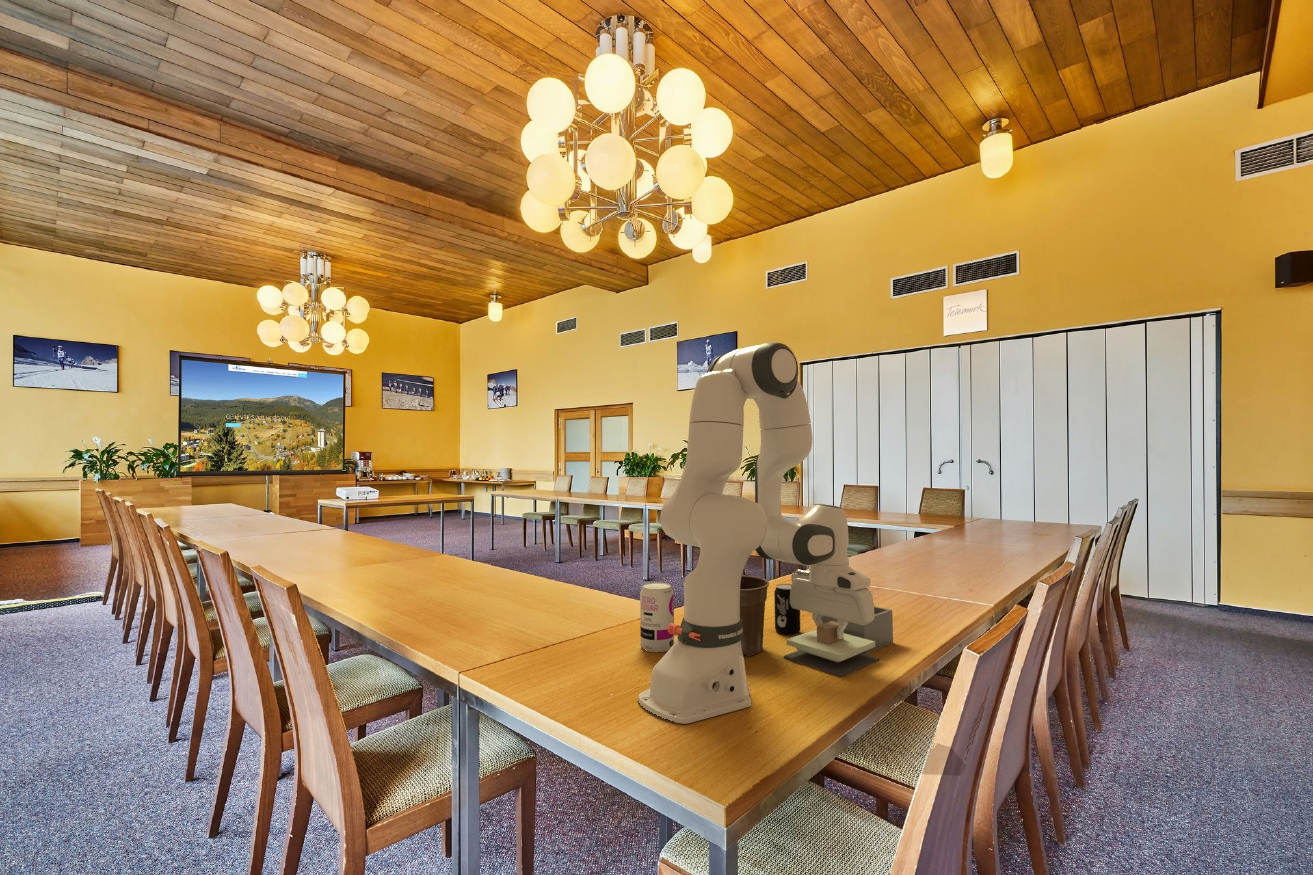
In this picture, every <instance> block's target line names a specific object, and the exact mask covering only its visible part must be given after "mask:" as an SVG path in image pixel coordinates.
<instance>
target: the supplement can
mask: <svg viewBox="0 0 1313 875" xmlns="http://www.w3.org/2000/svg"><path fill="white" fill-rule="evenodd" d="M674 591H675V590H673V587H672V585H671V584H670V583H665V582H648V583H645V584H643V585H642V587H641V590H640V592H639V598H640V599H639V604H640V606H639V609H640V610H639V612H640V616H639V617H640V618H639V619H640V622H639V623H640V626H639V627H640V628H639V629H640V631H639V632H640V634H639V635H640V647H641V648H642V649H643V648H644V649H646V650H647V651H646V652H648V651H650V652H649V653H654V652H661V653H665V651H666V652H668V650H669V649H670V648H671V647H672V646H673V645H674V644H675V635H674V634H670V633H669V632H668V631H669V630H668V626H669V624H671V623H673V624H675V602H674V601H675V596H674V594H675V593H674ZM644 649H643V650H644Z"/></svg>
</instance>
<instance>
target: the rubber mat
mask: <svg viewBox="0 0 1313 875" xmlns="http://www.w3.org/2000/svg"><path fill="white" fill-rule="evenodd" d="M783 659H786V660H789V661H792V662H794V663H797V664H800V665H804V666H807V667H809V668H812V669H816V670H819V671H822V672H825V673H828V674H830V675H834V676H837V677H840V678H843V677H846V676H848V675H850V674H852V673H854V672H855V673H856V672H857V671H858V670H860V669H862V668H866V667H868V666H870V665H872V664H874V663H876V662H878V661H880V658H879V657H878V656H877V657H876V656H872V655H870V654H863V653H859V654H857V655H855V656H852V657H850V658H847V659H845V660H843V661H840V662H835V661H832V660H829V659H826V658H823V657H819V656H816V655H813V654H810V653H806V652H803V651H800V650H795V651H793V652H791V653H788V654H785V655H783Z"/></svg>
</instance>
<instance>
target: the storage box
mask: <svg viewBox="0 0 1313 875" xmlns="http://www.w3.org/2000/svg"><path fill="white" fill-rule="evenodd" d="M821 620H822V622H823V624H825V623H828V622H831V621H834V622H837V619H835V618H831V617H827V616H823V617H821ZM893 624H894V621H893V609H888V608H885V607H880V606H876V605H874V620H873V621H872V622H871V623H870V624H867V625H860V624H855V623H851V622H848V624H847V626H846V628H845V629H844V630H843V631H844V633H845V634H849V635H852V636H856V637H860V638H864V639H868V640H871V641H875V647H874V648H871V649H869V650H867V651H864V652H862V653H863V654H866V655H869V654H871V653H872V652H874V651H877V650H879V649H882V648H884V647H886V645H887V646H889V645H891V644H893V643H894V625H893Z"/></svg>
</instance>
